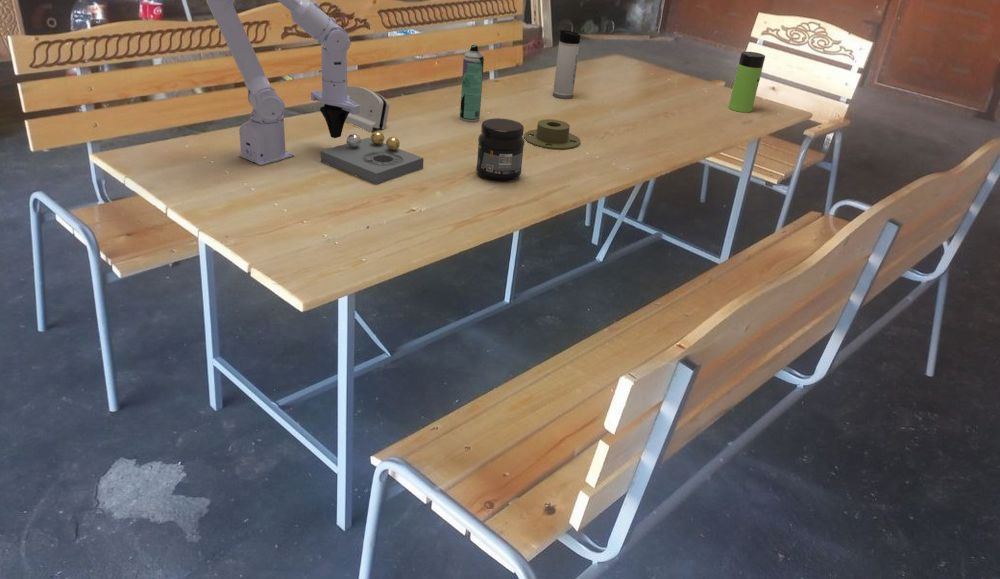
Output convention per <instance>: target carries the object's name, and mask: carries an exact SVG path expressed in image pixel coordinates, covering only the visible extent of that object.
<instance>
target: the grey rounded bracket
mask: <svg viewBox="0 0 1000 579" xmlns="http://www.w3.org/2000/svg"><path fill="white" fill-rule="evenodd" d="M347 89H348V96H350V100H352V101H353V102H355V103H356V104H358V105H360V113H359V114H355V115H353V114H351V112H350V113H349V114H348V116H347V118H346V120H345V123H346V122H348V123H351V124H353V125H355V126H358V127H360V128H362V129H361V130H363V129H364V131H365V130H366V131H365V132H367V131H368V133H370V132H371V133H373V131H374V130H373V129H378V130H379V129H380V130H383V129H385V130H386V127H387V122H388V116H389V111H390V110H389V109H390V103H389V101H388V100H387V99H386V98H385V97H383V96H382V95H381V94H380V93H378V92H376V91H374V90H372V89H370V88H367V87H364V86H357V85H356V86H355V85H354V86H353V85H352V86H347ZM348 123H347V124H348ZM353 125H352V126H353ZM355 126H354V127H355ZM358 127H357V128H358ZM360 128H359V129H360Z"/></svg>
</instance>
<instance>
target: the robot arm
mask: <svg viewBox="0 0 1000 579" xmlns="http://www.w3.org/2000/svg"><path fill="white" fill-rule="evenodd" d="M205 1H206V4H207V6H208V8H209V10H210V12H211V15H212V16H213V19H214V21H215V23H216V25H217V26H218V29H219V31H220V32H221V36H222V37H223V39H224V40H225V43H226V45H227V47H228V49H229V52H230V54H231V56H232V58H233V60H234V62H235V64H236V66H237V69H238V71H239V73H240V74H241V77H242V79H243V82H244V84H245V87H246V89H247V100H248V103H249V105H250V106H251V107H252V108H253V109H252V110H251V113H250V115H249V117H250V118H249V119H248V120H247V121H244V122H243V123H241V124H240V126H239V142H240V153H239V154H238V155H239V157H241V158H243V159H245V160H248V161H250V162H252V163H254V162H255V163H254V164H257V165H258V166H259V165H260V166H262V165H264V166H265V165H266V164H270V163H274V162H277V161H281V160H284V159H289V158H293V157H294V156H295V153H293V152H290V151H288V150H286V135H285V120H284V119H285V118H284V114H285V110H286V105H285V102H284V99H282V98H281V97H280V96H279V95H278V93H277V92H276V91H275V88H274V87H273V86H272V85H271V82H270V81H269V79H268V77H267V76H266V74H265V71H264V69H263V66H262V64H261V63H260V60H259V58H258V56H257V53H256V52H255V50H254V47H253V46H252V43H251V41H250V38H249V37H248V36H249V35H247V32H246V30H245V27H244V26H243V23H242V22H241V19H240V17H239V14H238V12H237V11H236V8H235V6H234V3H235V1H236V0H205ZM276 1H277V2H278V3H280V4H281V5H282V6H284V7H285V8H286V9H287V10H288V11H290V15H291V16H290V17H291V21H293V23H295V24H296V25H297V26H298V27H300V28H301V30H303V31H304V32H305V33H307V35H308V36H310V37H311V38H312V39H314V40H316V41H317V42H318V43H319V45H321V47H320V48H321V59H320V60H321V61H320V62H321V65H320V67H321V90H320V91H319V90H313V91H310V100H311V101H318V102H321V103H323V104H324V105H323V106H321V107H319V112H321V114H322V116H323V118H324V120H325V122H326V125H327V129H328V132H329V135H330V138H333V139H337V138H341V136H342V133H343V128H344V125H345V123H346V122H345V120H346V118H347V116H348V114H349V113H350V112H351V114H353V115H355V114H359V113H360V105H358V104H356V103H355V102H353V101H352V100H350V96H348V89H347V87H348V57H347V56H348V55H347V54H348V50H349V49H350V47H351V45H352V44H351V42H352V41H351V40H350V37H349V34H348V31H346V30H345V29H344V28H343V27H342V26H340V25H339V24H338V23H337V22H336V19H335V18H334V17H332V16H331V17H330V16H329V15H327V14H326V13H325V12H324V11H323V10H322V9H321V8H320V4H319V3H318V2H317V1H316V0H312V1H311V0H276Z"/></svg>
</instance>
